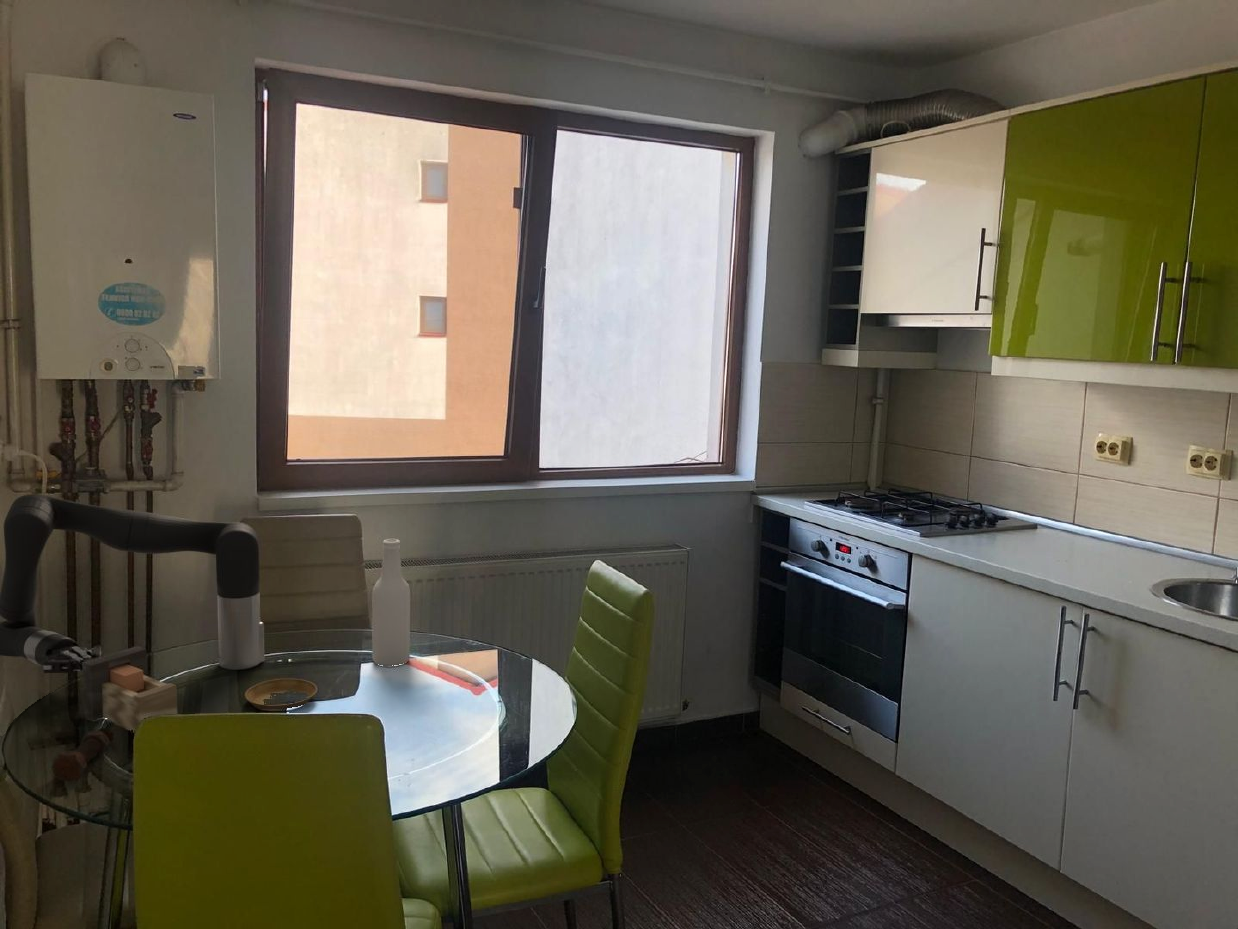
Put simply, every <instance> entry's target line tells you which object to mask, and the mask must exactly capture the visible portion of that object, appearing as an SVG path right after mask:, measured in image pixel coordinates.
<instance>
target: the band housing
mask: <svg viewBox="0 0 1238 929" xmlns="http://www.w3.org/2000/svg"><path fill="white" fill-rule="evenodd" d="M147 658H148V654H147V648H144V647H141V646H139V645H136V646H133V647H130V648H126V649H124V650H120V651H117V652H113V653H110V654H107V655H106V654H105V655H103V656H102V655H101V657H99V658H96V659H92V660H89V661H86V662H82V667H83V671H82V681H83V682H82V683H83V701H84V718H85V717H87V718H89V719H91V720H96V719H98V718H102V717H104V718H108V719H109V720H111V721H112V722H114V723H116V724H119V725H120V726H122V727H124V728H125V730H127V731H129V730H130V731H129V732H131V730H133V732H132V733H133V734H135V733H134V731H135V727H136V725H137V724H139V723H140V722H141V720H143V719H144V718H148V717H151V716H156V715H164V714H177V715H178V698H177V697H178V693H177V691H178V690H177V685H176V684H174V683H171V682H169V683H166V682H163V681H159V680H158V679H155V678H153V677H150V676H149V675H148V659H147ZM124 663H126V664H128V665H131V666H133V667H136V668H138V669H141V670H143V678H144V689H142V690H139V691H136V692H133V691H131V690H128V689H126V688H124V687H121V686H119V685H117V684H114V683H112V682H109V668H111V667H114V666H117V665H120V664H124ZM116 724H115V725H116ZM120 726H119V727H120ZM122 727H121V728H122ZM124 728H123V729H124Z"/></svg>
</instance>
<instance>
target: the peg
mask: <svg viewBox="0 0 1238 929" xmlns="http://www.w3.org/2000/svg"><path fill="white" fill-rule="evenodd" d="M109 682H112V683H114V684H117V685H119V686H121V687H124V688H126V689H128V690H131V691H133V692H136V691H139V690H142V689H144V678H143V670H141V669H138V668H136V667H133V666H131V665H128V664H126V663H124V664H120V665H117V666H114V667H111V668H109Z"/></svg>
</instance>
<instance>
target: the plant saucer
mask: <svg viewBox="0 0 1238 929" xmlns="http://www.w3.org/2000/svg"><path fill="white" fill-rule="evenodd" d="M288 690H290V691H291V690H292V691H298V692H301V693H303V692H304V693H307V694H308V695H310V696H309V698H307V699H305V700H302V701H299V702H295V703H290V704H283V705H264V701H263V700H264V699H270V696H271V695H270V693H284V692H287V691H288ZM317 691H318V687H317V685H316V684H315V683H313V682H311V681H308V680H305V679H302V678H300V679H299V678H277V679H271V680H266V681H263V682H259V683H257V684H255V685H252V686H251V687H249V688H248V689H247V690H246V691H245V693H244V697H245V699H246V700H247V701H248V702H249V703H250V704H251V705H252V706H254V707H255V708H256V709H258V710H260V709H287V708H292V707H298V706H301V705H304V704H305V705H307V704H308V703H309V702H310V701H311V700H312V699H313V698H314V696H315V695H316V694H317ZM288 692H289V691H288ZM294 693H295V692H294ZM274 696H276V695H274ZM271 697H272V696H271ZM271 699H272V698H271ZM273 699H274V698H273ZM265 704H266V703H265ZM305 705H304V706H305ZM282 712H285V711H282ZM282 712H281V713H282Z"/></svg>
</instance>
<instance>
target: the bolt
mask: <svg viewBox="0 0 1238 929" xmlns="http://www.w3.org/2000/svg"><path fill="white" fill-rule="evenodd" d="M114 739H115V738H114V731H112V730H110V729H108V728H105V727H101V728H100V729H98V730H97V731H96V730H94V731H93V730H92V731H89V732H87V733H86V734H85V737H84V738H83V739H82V741H81V743H80V745H79V746H78V747H77V748H75V749H74V750H73V751H61V752H60V753H58V755H57V756H56V758H55V760H54V761H53V763H52V765H51V771H52V772H53V774H54V776H55V777H56V778H57V780H59V781H65V782H66V781H67V782H72V781H78V780H79V779H80V778H81V777H82V775H83V773H84V771H85V770H86V769H87V766H88V764H87V763H89V762H90V761H91V760H92V759H93V758H95V757H96V756H95V755H100V754H102V755H104V754H105V753H106V751H107V750H108V748H109V746H110V744H111V743H112V741H113V740H114ZM104 752H105V753H104Z"/></svg>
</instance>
